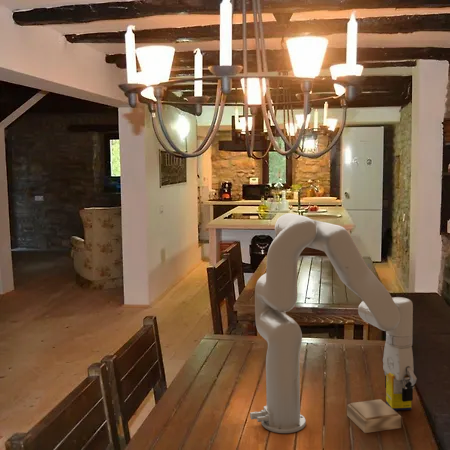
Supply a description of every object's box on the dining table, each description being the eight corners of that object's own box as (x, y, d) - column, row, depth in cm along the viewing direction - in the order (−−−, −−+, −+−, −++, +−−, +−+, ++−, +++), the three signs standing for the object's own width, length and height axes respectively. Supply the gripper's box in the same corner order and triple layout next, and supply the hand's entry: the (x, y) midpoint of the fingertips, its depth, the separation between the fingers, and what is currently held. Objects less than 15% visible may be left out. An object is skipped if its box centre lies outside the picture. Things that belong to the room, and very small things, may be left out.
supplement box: (404, 401, 173) (405, 367, 171) (411, 410, 167) (412, 375, 165) (385, 402, 172) (385, 368, 171) (391, 411, 166) (392, 375, 165)
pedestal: (364, 433, 153) (364, 419, 153) (347, 415, 164) (347, 402, 164) (401, 427, 156) (401, 414, 155) (381, 411, 167) (381, 398, 166)
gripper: (373, 332, 175) (373, 384, 177) (403, 349, 158) (402, 407, 160) (395, 329, 176) (394, 382, 178) (427, 347, 160) (426, 404, 161)
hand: (398, 394), depth 169 cm, fingers open, 9 cm apart
